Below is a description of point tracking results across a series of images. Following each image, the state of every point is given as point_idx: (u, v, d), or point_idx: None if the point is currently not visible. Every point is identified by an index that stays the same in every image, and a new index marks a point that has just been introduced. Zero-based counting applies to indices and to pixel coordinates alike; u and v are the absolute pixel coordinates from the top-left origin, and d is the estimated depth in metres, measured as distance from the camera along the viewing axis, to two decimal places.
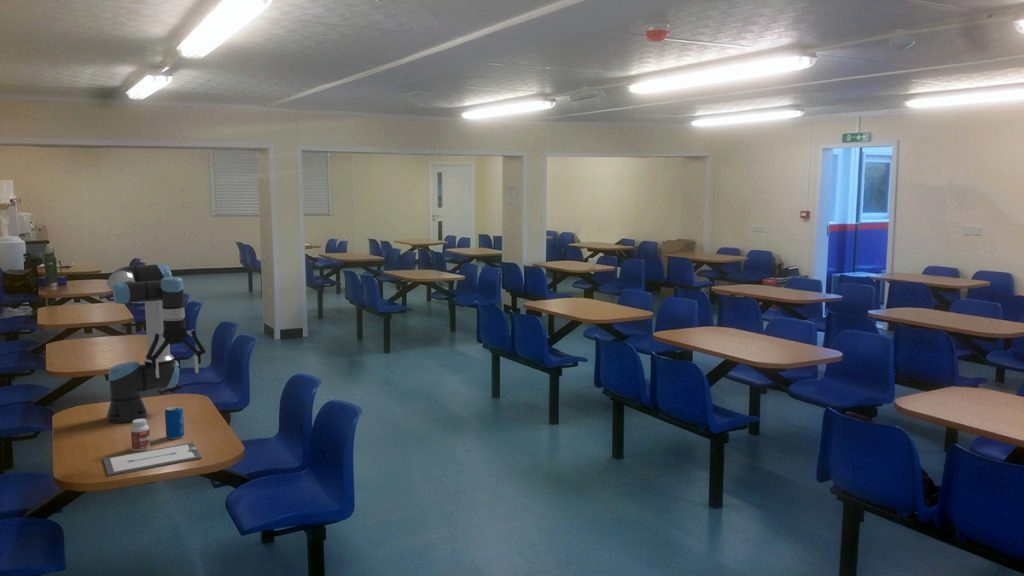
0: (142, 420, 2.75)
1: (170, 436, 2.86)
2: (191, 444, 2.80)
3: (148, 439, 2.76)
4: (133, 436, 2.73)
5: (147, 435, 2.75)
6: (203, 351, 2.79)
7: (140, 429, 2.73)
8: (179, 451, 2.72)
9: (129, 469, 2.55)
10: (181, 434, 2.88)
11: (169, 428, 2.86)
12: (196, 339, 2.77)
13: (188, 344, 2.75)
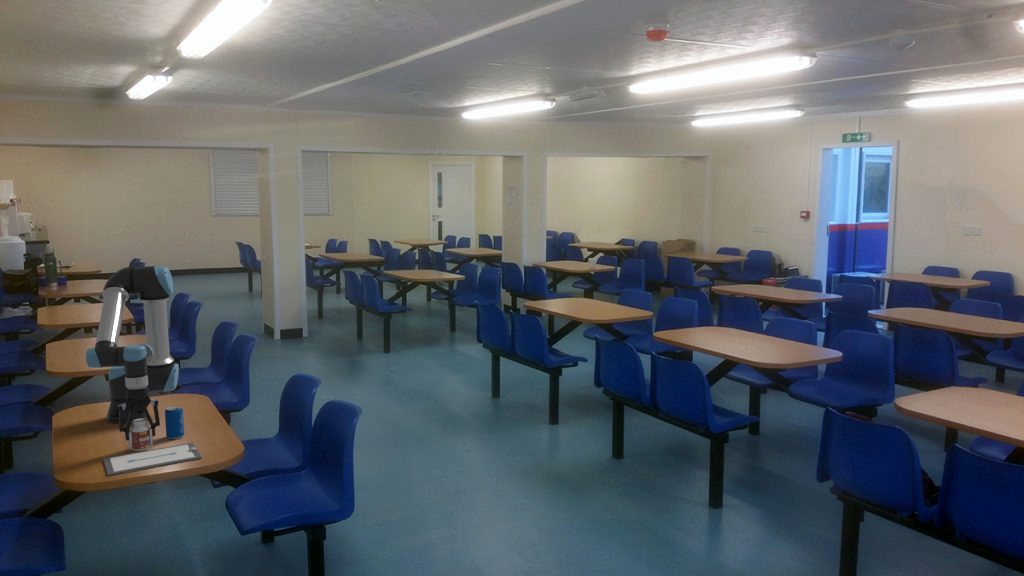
0: (142, 420, 2.75)
1: (170, 436, 2.86)
2: (191, 444, 2.80)
3: (148, 439, 2.76)
4: (133, 436, 2.73)
5: (147, 435, 2.75)
6: (158, 423, 2.78)
7: (140, 428, 2.73)
8: (179, 451, 2.72)
9: (129, 469, 2.55)
10: (181, 434, 2.88)
11: (169, 428, 2.86)
12: (156, 410, 2.77)
13: (147, 414, 2.75)
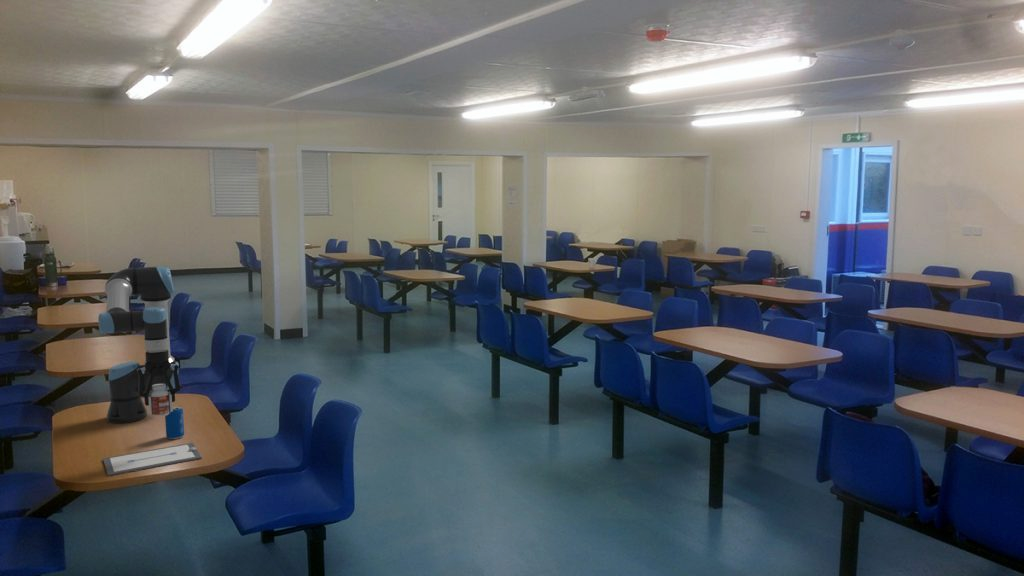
0: (162, 385, 2.68)
1: (170, 436, 2.86)
2: (191, 444, 2.80)
3: (168, 404, 2.68)
4: (152, 401, 2.65)
5: (166, 401, 2.67)
6: (177, 389, 2.70)
7: (160, 393, 2.65)
8: (179, 451, 2.72)
9: (129, 469, 2.55)
10: (181, 434, 2.88)
11: (169, 428, 2.86)
12: (176, 375, 2.69)
13: (167, 379, 2.68)
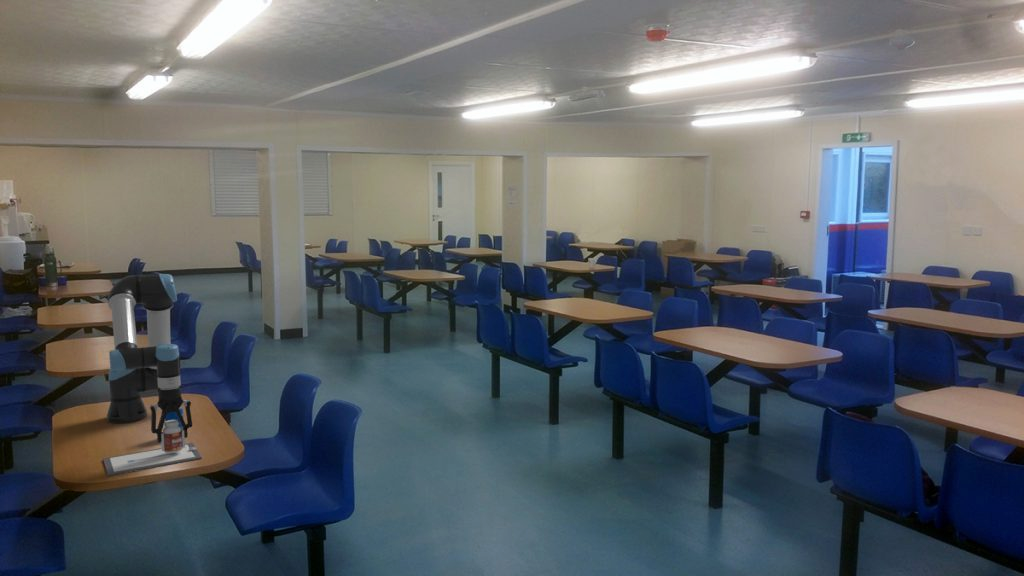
0: (174, 421, 2.68)
1: None
2: (191, 444, 2.80)
3: (180, 441, 2.69)
4: (165, 438, 2.66)
5: (179, 437, 2.68)
6: (190, 425, 2.71)
7: (173, 430, 2.66)
8: (179, 451, 2.72)
9: (129, 469, 2.55)
10: None
11: None
12: (188, 411, 2.70)
13: (179, 415, 2.68)
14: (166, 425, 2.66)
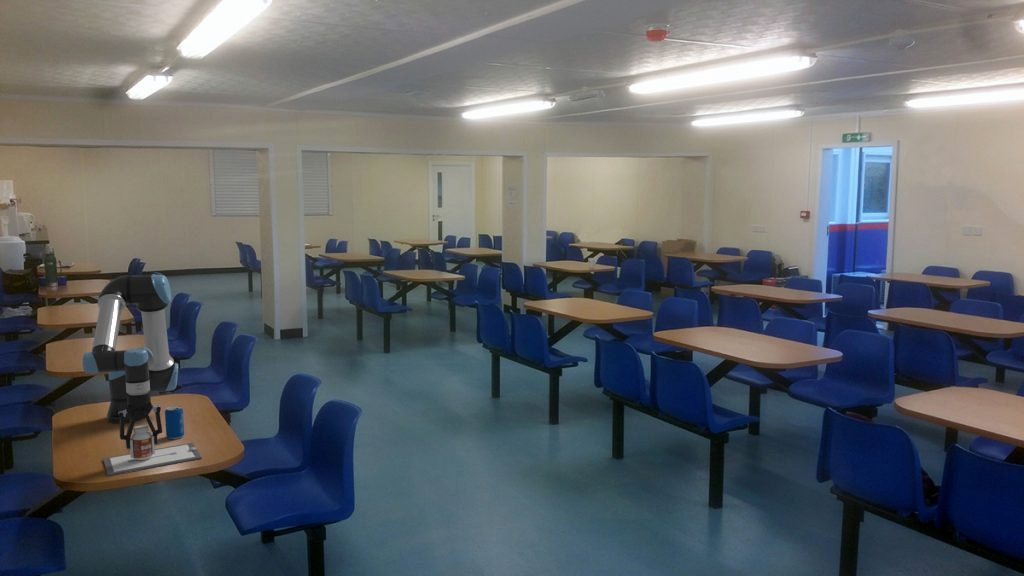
0: (144, 427, 2.63)
1: (170, 436, 2.86)
2: (191, 444, 2.80)
3: (150, 447, 2.63)
4: (134, 444, 2.60)
5: (149, 443, 2.63)
6: (160, 431, 2.65)
7: (142, 436, 2.61)
8: (179, 451, 2.72)
9: (129, 469, 2.55)
10: (181, 434, 2.88)
11: (169, 428, 2.86)
12: (158, 416, 2.64)
13: (149, 421, 2.63)
14: (135, 431, 2.61)
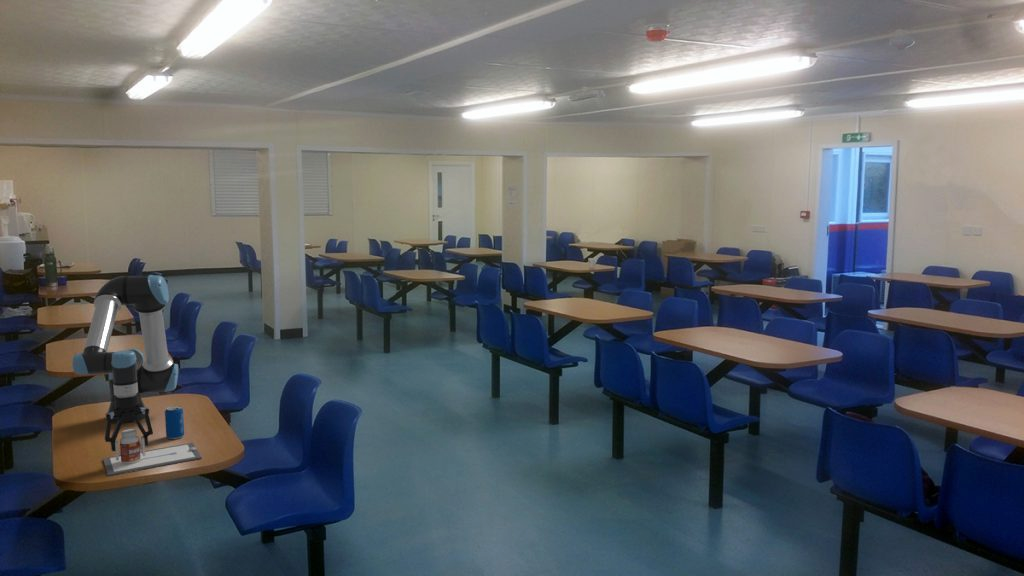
0: (132, 431, 2.61)
1: (170, 436, 2.86)
2: (191, 444, 2.80)
3: (138, 451, 2.61)
4: (122, 448, 2.58)
5: (137, 447, 2.60)
6: (150, 432, 2.63)
7: (130, 440, 2.59)
8: (179, 451, 2.72)
9: (129, 469, 2.55)
10: (181, 434, 2.88)
11: (169, 428, 2.86)
12: (147, 418, 2.62)
13: (138, 423, 2.61)
14: (123, 435, 2.59)
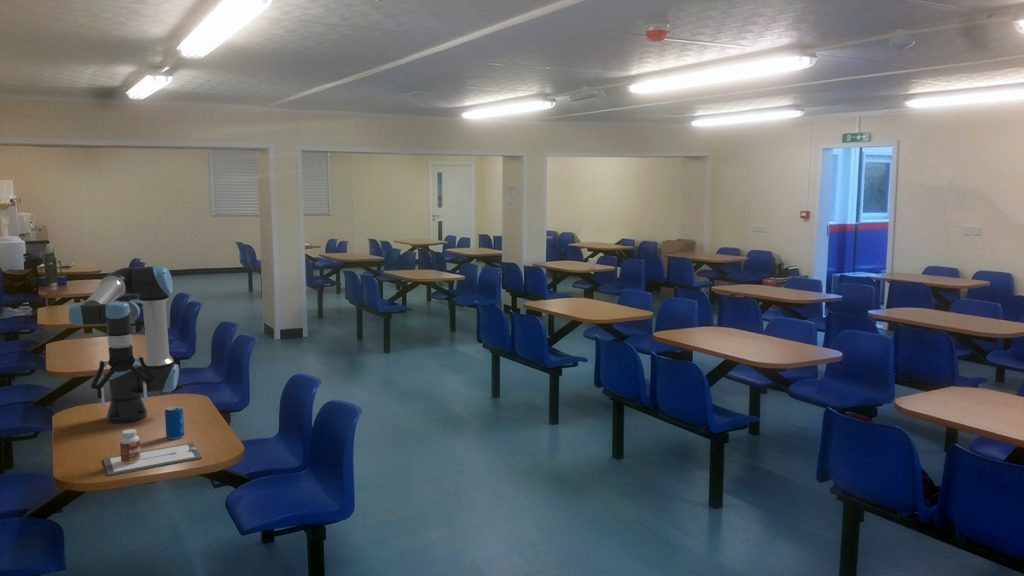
0: (132, 431, 2.61)
1: (170, 436, 2.86)
2: (191, 444, 2.80)
3: (138, 451, 2.61)
4: (122, 448, 2.58)
5: (137, 447, 2.61)
6: (152, 378, 2.68)
7: (130, 440, 2.59)
8: (179, 451, 2.72)
9: (129, 469, 2.55)
10: (181, 434, 2.88)
11: (169, 428, 2.86)
12: (144, 366, 2.66)
13: (136, 371, 2.64)
14: (123, 435, 2.59)
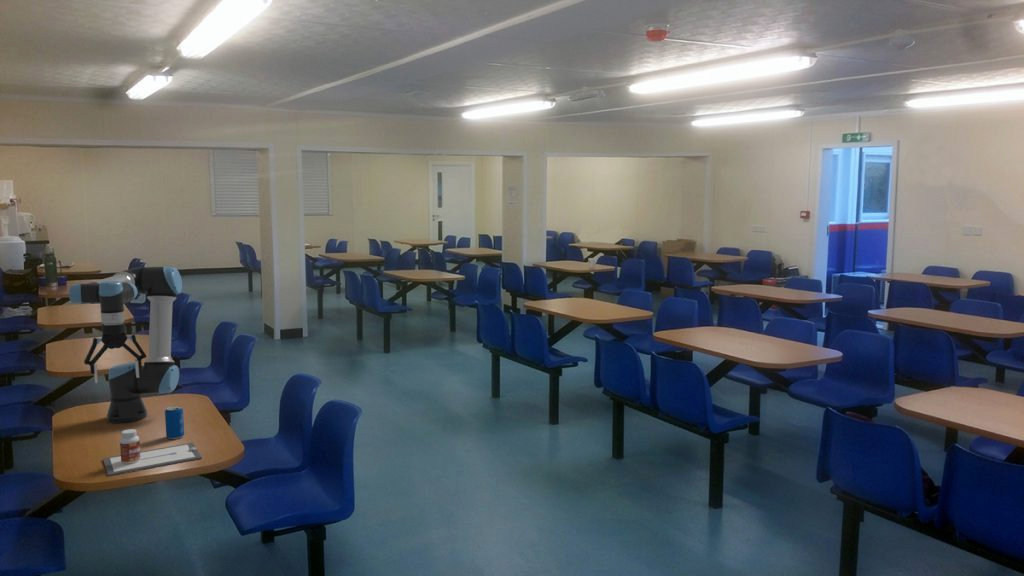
0: (132, 431, 2.61)
1: (170, 436, 2.86)
2: (191, 444, 2.80)
3: (138, 451, 2.61)
4: (122, 448, 2.58)
5: (137, 447, 2.61)
6: (144, 356, 2.76)
7: (130, 440, 2.59)
8: (179, 451, 2.72)
9: (129, 469, 2.55)
10: (181, 434, 2.88)
11: (169, 428, 2.86)
12: (136, 343, 2.74)
13: (128, 348, 2.73)
14: (123, 435, 2.59)
